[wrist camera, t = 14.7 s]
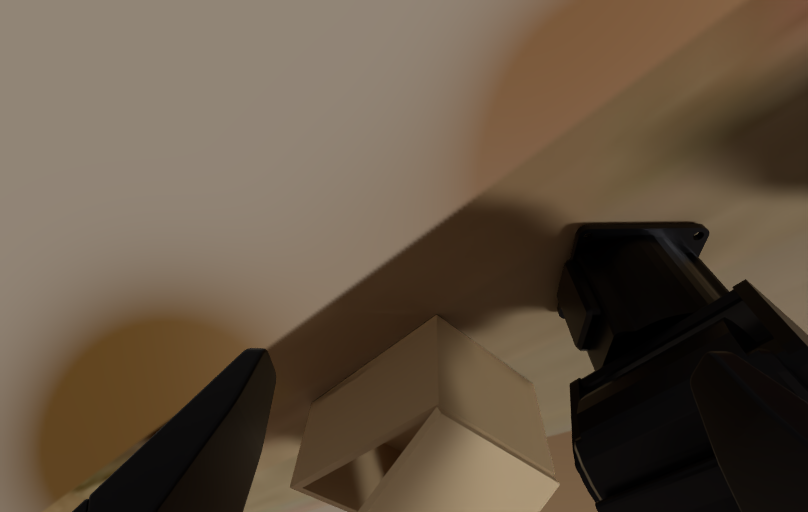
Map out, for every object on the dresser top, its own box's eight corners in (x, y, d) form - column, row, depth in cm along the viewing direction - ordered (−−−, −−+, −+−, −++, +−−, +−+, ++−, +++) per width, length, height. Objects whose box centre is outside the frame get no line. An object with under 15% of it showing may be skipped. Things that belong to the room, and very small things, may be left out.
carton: (436, 314, 26) (438, 403, 21) (533, 384, 30) (555, 474, 24) (311, 403, 32) (289, 487, 27) (403, 450, 36) (399, 533, 31)
